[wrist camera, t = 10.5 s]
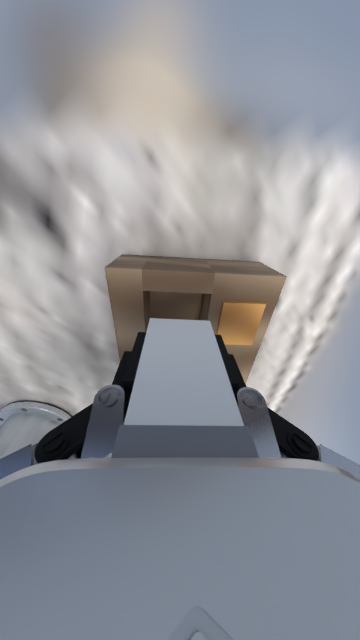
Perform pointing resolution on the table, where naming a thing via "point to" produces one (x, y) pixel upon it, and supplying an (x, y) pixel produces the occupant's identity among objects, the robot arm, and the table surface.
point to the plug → (182, 398)
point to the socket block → (195, 299)
